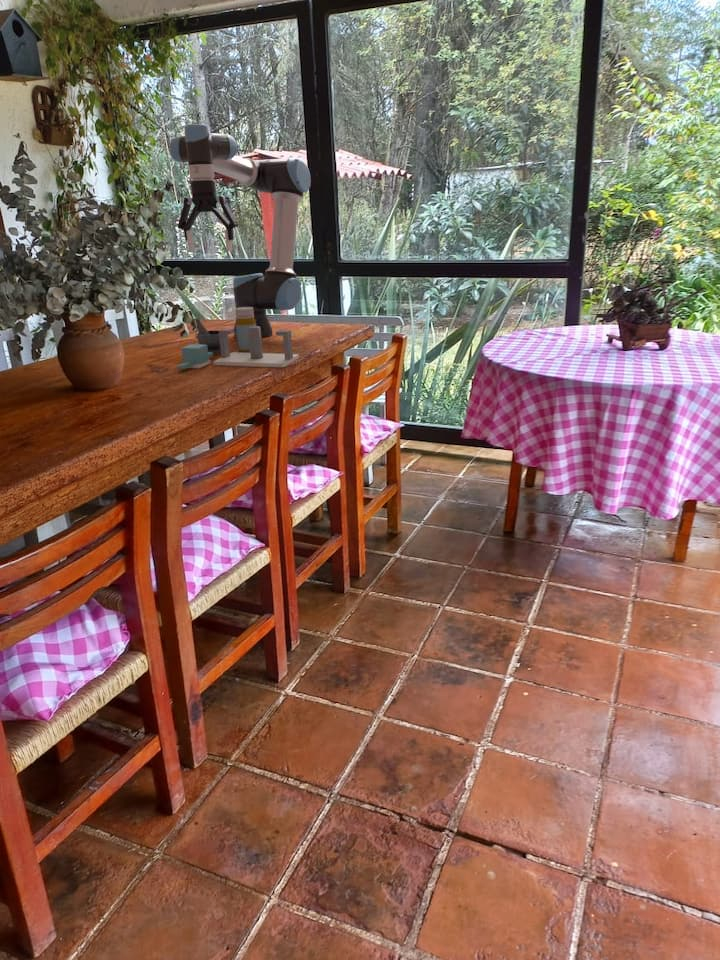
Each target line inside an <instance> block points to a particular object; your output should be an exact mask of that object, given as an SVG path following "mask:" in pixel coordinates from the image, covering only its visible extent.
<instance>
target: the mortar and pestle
mask: <svg viewBox="0 0 720 960" xmlns="http://www.w3.org/2000/svg"><path fill="white" fill-rule="evenodd" d="M195 319H196V322H197V328H196V329H197V331H198V332H197V334H196V335H197V337H196V338H197V341H198V343H199V344H201V345H207V348H208V352H213V355H217V354H221V353H220V352H221V349H220V340H219V330H220V329H218V330H217V329H216V330H214V329H213V330H208V329H206V327H205V326H204V324H203V323H202V322H201V319H200V318H199V317H197V318H195Z"/></svg>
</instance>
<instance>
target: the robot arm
mask: <svg viewBox="0 0 720 960" xmlns="http://www.w3.org/2000/svg"><path fill="white" fill-rule="evenodd" d="M237 151H238V143H237V142H236V139H235V138H234V137H233V135H231V134H228V133H227V134H226V133H224V132H223V133H215V132H214V133H213V132H211V131H210V127H209V126H208V124H203V123H202V124H201V123H194V124H193V123H192V124H191V123H190V124H187V125H186V126H184V136H178V137H177V136H176V137H173V138H172V139H171V141H170V143H169V153H170V156H171V158H172V159H173V160H174V162H176V163H182V164H183V163H188V171H189V172H188V173H189V179H190V180H191V181H190V189H191V194H192V196H191V197H189V196H186V197H183V206H182V209H181V213H180V217H179V220H178V224H177V228H178V229H181V230H183V234H184V240H185V242H187V248H188V253H193V252H195V251H196V248H195V241H194V240H195V239H194V231H193V230H192V229H191V228H192V227H193V225H194V223H195V221H196V220H197V218H198V216H199V214H201V213H206V212H207V213H209V212H210V213H211V212H212V213H213V214H214V215H215V217H217V219H218V220H219V221H220V223H221V224H222V225H223V226H224V227H225V229H224V238H225V239H224V241H225V247H226V248H225V249H226V252H233V250H234V249H233V243H232V241H234V237H235V236H234V228H236V227H239V223H238V221H237V219H236V217H235V215H234V214H233V212H232V209H231V208H230V206H229V204H228V201H227V197H226V195H220V196H217V188H216V181H215V180H214V178H215V173H217V174H220V175H223V176H225V177H227V178H231V179H234V180H236V181H238V182H239V184H240V185H242V186H245V187H246V188H249V189H252V190H255V191H259V192H261V193H266V194H271V197H272V198H273V200H274V208H273V209H274V210H273V221H272V222H273V223H272V232H271V233H272V234H271V244H270V245H271V248H270V260H269V267H268V268H267V269H266V270H265V272H264V274H263V273H262V272H259V273H252V274H246V275H240V276H236V277H234V279H233V281H232V283H233V285H232V286H233V288H232V291H233V297H234V298H233V299H234V305H235V309H236V308H239V307H253V310H254V318H255V321H256V326H260V329H261V339H262V338H267V337H271V336H273V334H274V333H273V328H272V325H271V322H270V320H269V317H268V316H267V310H274V311H275V310H279V311H290V310H293V309H295V308H296V306H298V305H299V303H300V300H301V297H302V286H301V282H300V280H299V279H297V274H296V272H295V271H294V261H295V260H294V259H295V248H296V246H295V245H296V234H297V225H298V224H297V223H298V212H299V211H298V210H299V203H301V202H302V201H303V200H304V193H306V192H308V191H309V190H310V188H311V182H312V179H311V172H310V169H309V168H308V167H309V166H308V165H307V164H306V162H305V161H304V160H303V159H302V158H299V157H291V156H290V157H285V158H284V157H283V158H269V159H252V158H250V157H245V158H242V157H240V156H238V155H237ZM192 204H193V205H194V206H193V208H192V210H191V205H192ZM217 204H220V207H221V209H222V211H223V212H222V211H221V209H220V208H219V206H217ZM190 210H191V213H190ZM235 322H236V320H235ZM233 329H234V333H233V337H234V338H236V339H237V333H236V323H234V328H233Z"/></svg>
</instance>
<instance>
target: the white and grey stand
mask: <svg viewBox="0 0 720 960" xmlns="http://www.w3.org/2000/svg"><path fill="white" fill-rule="evenodd" d="M218 330H219V340H220V349H221V353H220V355H221V356H220V357H219V358H218V359H216V360H214V361H213V366H228V367H230V366H232V367H254V368H255V367H257V368H258V367H259V368H261V367H262V368H284V367H286V366H288V365H290V364H292V363H293V362H295V361H296V360H298V359H300V354H299V353H293V342H292V341H293V340H292V330H290V329H278V330H276V331H275V335H276V336H282V338H283V353H274V352H273V353H269V352H268V353H267V352H263V343H262V338H261V329H260V326H251V327H248V334H249V344H250V353H240V352H239V351H237V352H236V351H233V352H231V353H230V346H229V345H230V344H229V336H228V335H232V334H234V328H221V329H218Z"/></svg>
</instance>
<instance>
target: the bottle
mask: <svg viewBox="0 0 720 960" xmlns="http://www.w3.org/2000/svg"><path fill="white" fill-rule="evenodd" d="M235 321H236V322H235V323H236V333H237V338H236V342H237V350H238V351H237V352H241V353H250V344H249V334H248V327H251V326H256V321H255V318H254V310H253V307H239V308H236V307H235ZM235 323H234V324H235Z"/></svg>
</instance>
